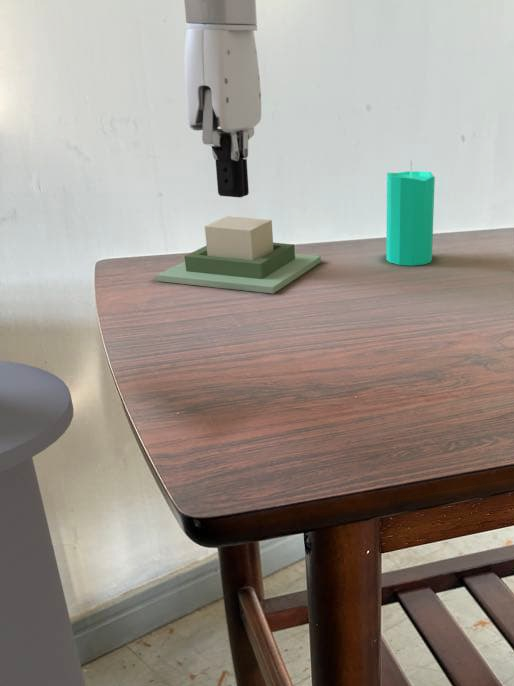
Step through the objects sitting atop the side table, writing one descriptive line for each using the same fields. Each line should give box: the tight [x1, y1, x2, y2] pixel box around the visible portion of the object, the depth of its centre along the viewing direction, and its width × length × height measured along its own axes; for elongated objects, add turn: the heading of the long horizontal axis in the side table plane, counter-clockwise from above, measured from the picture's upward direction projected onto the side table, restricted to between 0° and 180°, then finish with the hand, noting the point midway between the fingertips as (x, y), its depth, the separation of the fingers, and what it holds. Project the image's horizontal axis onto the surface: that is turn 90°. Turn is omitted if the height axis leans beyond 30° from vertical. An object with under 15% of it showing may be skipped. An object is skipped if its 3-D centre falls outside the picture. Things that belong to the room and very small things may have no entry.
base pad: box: [156, 242, 322, 295], centre depth 107 cm, size 15×15×3 cm
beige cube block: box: [204, 215, 274, 260], centre depth 106 cm, size 6×6×5 cm
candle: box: [385, 160, 436, 266], centre depth 111 cm, size 6×6×12 cm
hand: (233, 195), depth 103 cm, fingers closed
